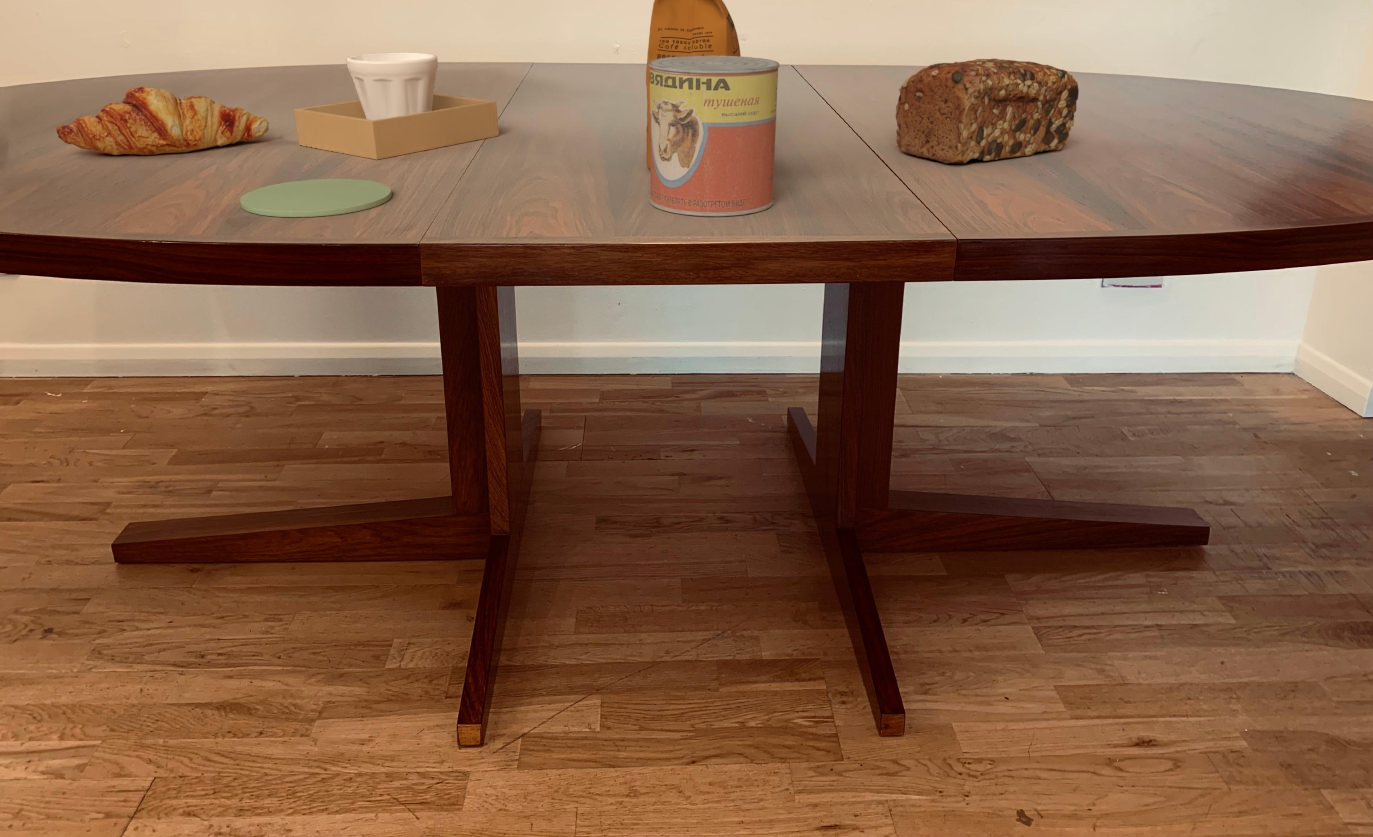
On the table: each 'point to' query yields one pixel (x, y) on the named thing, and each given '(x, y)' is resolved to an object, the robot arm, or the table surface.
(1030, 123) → the bread
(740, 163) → the canned food
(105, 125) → the croissant
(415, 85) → the cup
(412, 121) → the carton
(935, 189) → the table surface
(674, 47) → the coffee package
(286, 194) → the mat
